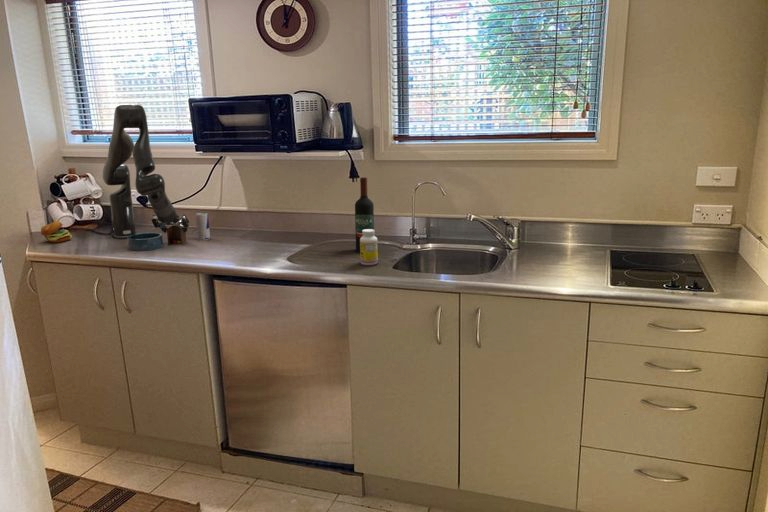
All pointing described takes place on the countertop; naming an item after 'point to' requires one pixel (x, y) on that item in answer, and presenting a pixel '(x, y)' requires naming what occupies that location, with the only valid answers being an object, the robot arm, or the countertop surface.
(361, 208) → the wine bottle
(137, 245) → the bowl
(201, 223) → the energy drink
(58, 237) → the cheeseburger
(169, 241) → the brown block
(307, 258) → the countertop surface
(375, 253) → the supplement bottle
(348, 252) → the countertop surface
